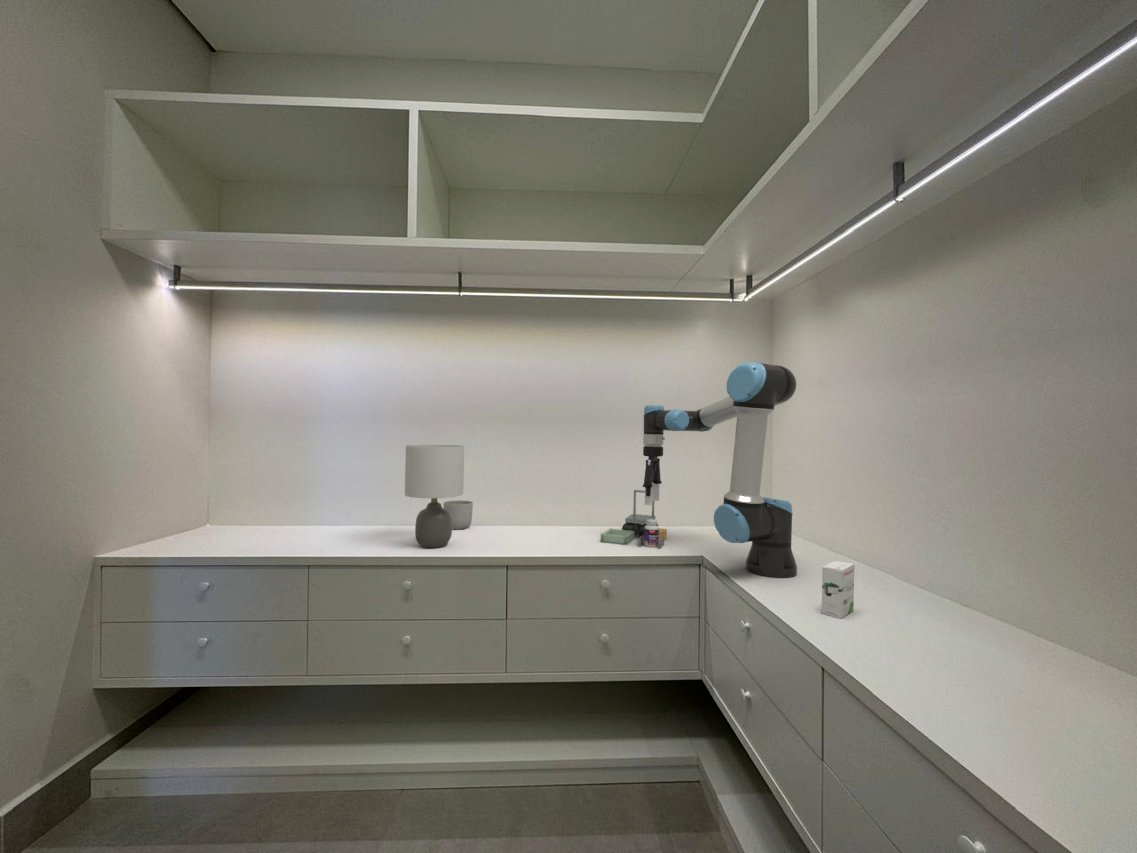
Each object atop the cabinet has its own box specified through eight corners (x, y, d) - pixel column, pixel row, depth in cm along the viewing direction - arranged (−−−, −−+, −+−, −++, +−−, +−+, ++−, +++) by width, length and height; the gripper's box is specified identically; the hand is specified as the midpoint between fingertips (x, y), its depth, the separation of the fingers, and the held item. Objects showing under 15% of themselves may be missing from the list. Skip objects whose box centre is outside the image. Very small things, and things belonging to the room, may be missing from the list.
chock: (663, 542, 197) (663, 531, 197) (653, 540, 199) (653, 530, 199) (666, 539, 203) (666, 529, 203) (656, 537, 204) (657, 528, 204)
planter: (476, 525, 221) (477, 501, 221) (464, 531, 209) (465, 505, 209) (451, 524, 224) (451, 499, 224) (437, 529, 212) (438, 503, 212)
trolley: (652, 539, 200) (653, 494, 200) (621, 536, 205) (622, 492, 205) (658, 534, 211) (659, 491, 211) (628, 531, 216) (629, 489, 216)
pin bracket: (660, 548, 185) (660, 540, 185) (638, 546, 188) (638, 538, 188) (664, 544, 192) (664, 537, 192) (642, 542, 195) (642, 534, 195)
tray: (626, 544, 190) (626, 537, 190) (600, 542, 194) (600, 534, 194) (634, 538, 202) (634, 531, 202) (609, 535, 205) (609, 528, 206)
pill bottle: (649, 547, 186) (649, 521, 186) (641, 544, 191) (641, 519, 191) (661, 546, 189) (661, 521, 189) (653, 543, 193) (653, 518, 193)
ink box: (833, 605, 128) (834, 559, 128) (854, 610, 125) (855, 563, 125) (820, 613, 122) (821, 565, 122) (842, 619, 119) (843, 569, 119)
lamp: (453, 553, 172) (455, 447, 172) (394, 551, 173) (396, 446, 173) (468, 540, 193) (470, 445, 193) (415, 538, 194) (417, 444, 194)
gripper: (656, 447, 177) (655, 507, 177) (668, 445, 200) (667, 499, 200) (636, 446, 180) (634, 506, 180) (650, 444, 203) (649, 498, 203)
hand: (652, 502), depth 190 cm, fingers open, 12 cm apart
